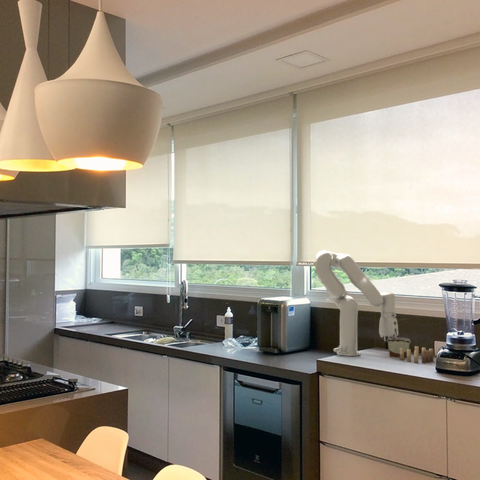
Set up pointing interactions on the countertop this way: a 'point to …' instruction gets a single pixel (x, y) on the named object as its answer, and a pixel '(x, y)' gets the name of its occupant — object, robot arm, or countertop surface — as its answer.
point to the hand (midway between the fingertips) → (388, 348)
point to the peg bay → (426, 355)
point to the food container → (398, 346)
